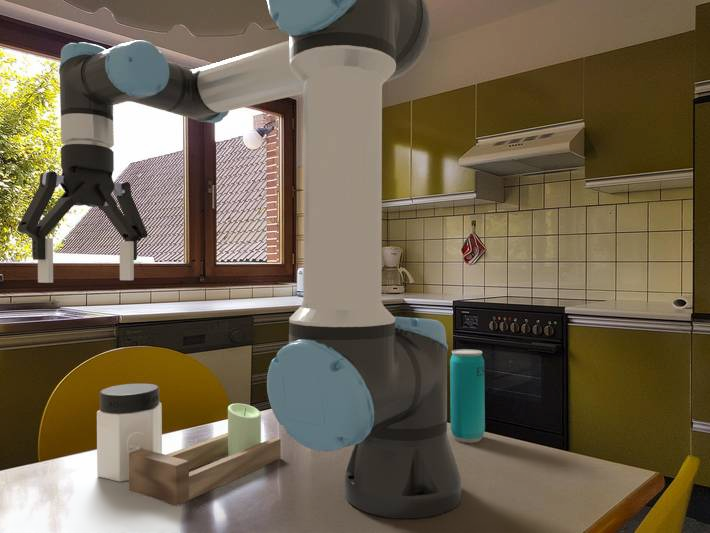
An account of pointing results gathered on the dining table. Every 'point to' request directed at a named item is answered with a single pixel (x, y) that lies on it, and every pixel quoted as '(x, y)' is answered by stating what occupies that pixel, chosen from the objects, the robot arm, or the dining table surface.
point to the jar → (127, 427)
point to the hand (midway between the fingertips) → (88, 281)
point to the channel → (171, 471)
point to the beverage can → (467, 395)
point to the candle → (243, 427)
